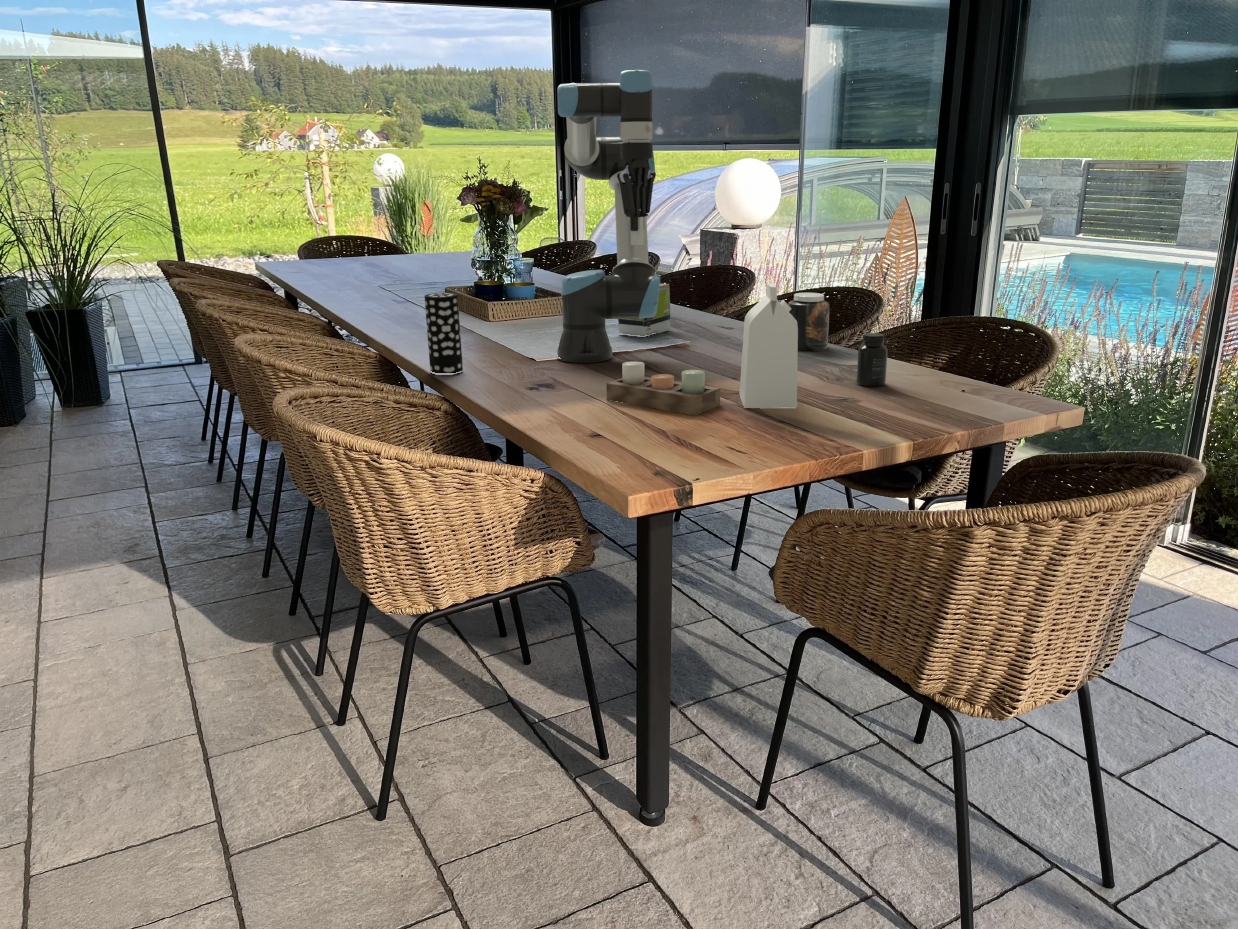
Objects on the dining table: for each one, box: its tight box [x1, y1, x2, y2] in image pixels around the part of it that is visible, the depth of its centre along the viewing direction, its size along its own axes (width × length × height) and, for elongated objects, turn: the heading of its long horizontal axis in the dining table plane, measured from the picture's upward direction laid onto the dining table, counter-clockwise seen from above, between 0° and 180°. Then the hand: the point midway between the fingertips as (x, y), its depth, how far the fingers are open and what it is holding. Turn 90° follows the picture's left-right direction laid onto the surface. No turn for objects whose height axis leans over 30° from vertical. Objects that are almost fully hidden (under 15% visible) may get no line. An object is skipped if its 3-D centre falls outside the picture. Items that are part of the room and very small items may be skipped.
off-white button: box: [621, 361, 645, 385], centre depth 215 cm, size 5×5×5 cm
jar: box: [787, 292, 830, 352], centre depth 267 cm, size 12×12×15 cm
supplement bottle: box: [856, 332, 888, 387], centre depth 225 cm, size 7×7×12 cm
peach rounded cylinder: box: [651, 373, 675, 390], centre depth 211 cm, size 5×5×5 cm
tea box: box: [617, 283, 671, 336], centre depth 291 cm, size 15×10×15 cm, turn 144°
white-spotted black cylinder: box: [423, 292, 464, 373], centre depth 242 cm, size 8×8×20 cm
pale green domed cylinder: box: [681, 369, 706, 395], centre depth 206 cm, size 5×5×5 cm
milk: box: [738, 282, 799, 409], centre depth 208 cm, size 12×12×26 cm
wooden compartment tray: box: [605, 376, 721, 416], centre depth 212 cm, size 24×10×4 cm, turn 54°
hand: (637, 244), depth 228 cm, fingers closed
